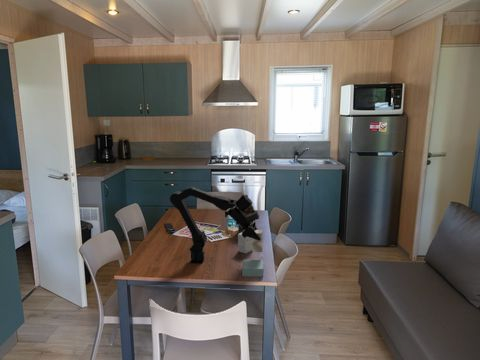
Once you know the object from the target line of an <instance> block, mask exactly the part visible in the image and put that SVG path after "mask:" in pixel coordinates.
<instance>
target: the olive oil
mask: <svg viewBox="0 0 480 360" xmlns="http://www.w3.org/2000/svg"><path fill="white" fill-rule="evenodd" d="M244 195H245V196H246V197H248V198H249V196H248V194H244ZM253 209H254V206H253V204H252V205H251V206H250V207H249V208H248V209H247V210H246V211H241V210H240V211H241V212H242V213H243V214H244V213H245V214H247V215H248V214H249V213H251V210H253ZM254 210H255V209H254ZM237 226H238V227H237V228H238V234H239V233H241V232H242V231H243V230H242V227H241V226H239V225H237Z"/></svg>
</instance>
